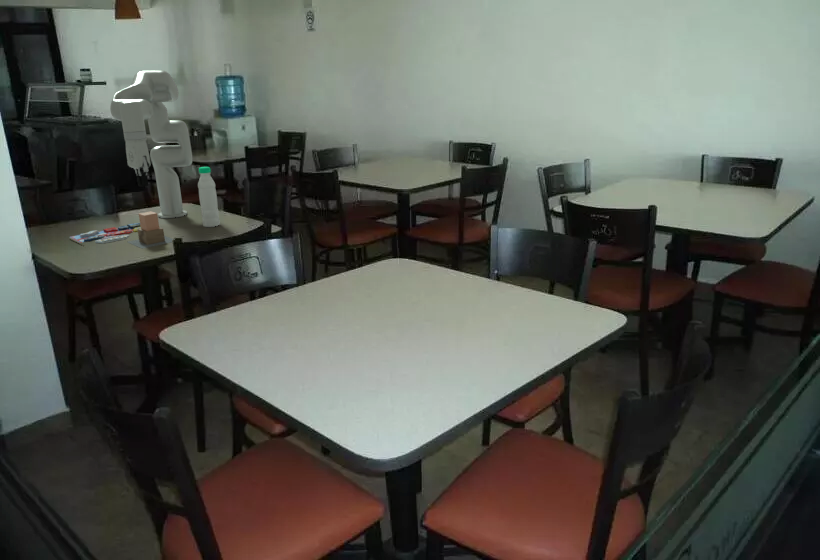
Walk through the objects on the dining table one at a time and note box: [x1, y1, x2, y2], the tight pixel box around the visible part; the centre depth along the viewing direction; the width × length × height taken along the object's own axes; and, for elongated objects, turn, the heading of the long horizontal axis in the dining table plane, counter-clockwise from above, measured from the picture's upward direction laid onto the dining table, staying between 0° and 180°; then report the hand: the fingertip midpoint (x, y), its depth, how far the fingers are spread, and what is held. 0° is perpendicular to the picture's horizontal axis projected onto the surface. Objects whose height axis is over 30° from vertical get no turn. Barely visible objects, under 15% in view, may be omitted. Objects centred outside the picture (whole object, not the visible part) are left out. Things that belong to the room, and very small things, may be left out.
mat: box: [127, 235, 174, 249], centre depth 238 cm, size 14×14×1 cm
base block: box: [137, 226, 165, 245], centre depth 237 cm, size 7×7×5 cm
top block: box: [138, 210, 161, 231], centre depth 235 cm, size 5×5×6 cm
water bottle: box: [197, 166, 221, 228], centre depth 260 cm, size 7×7×25 cm
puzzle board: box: [69, 222, 141, 247], centre depth 250 cm, size 30×23×3 cm
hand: (143, 186), depth 231 cm, fingers closed
